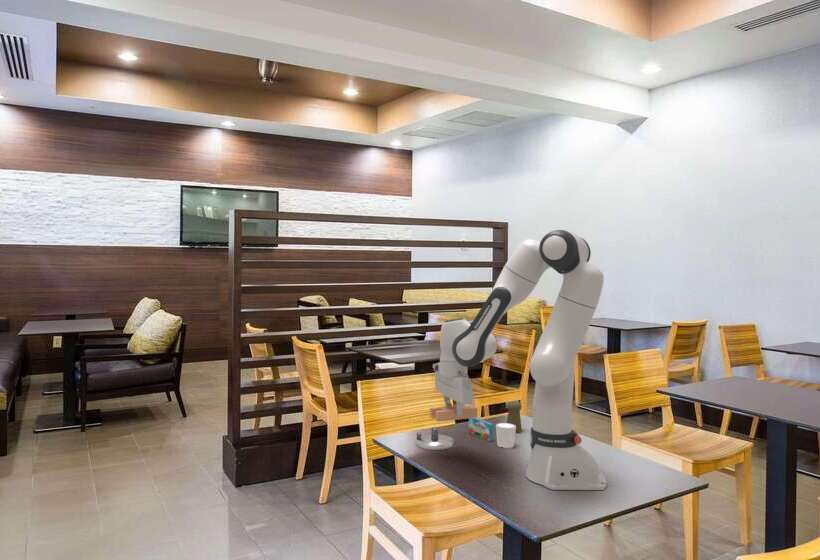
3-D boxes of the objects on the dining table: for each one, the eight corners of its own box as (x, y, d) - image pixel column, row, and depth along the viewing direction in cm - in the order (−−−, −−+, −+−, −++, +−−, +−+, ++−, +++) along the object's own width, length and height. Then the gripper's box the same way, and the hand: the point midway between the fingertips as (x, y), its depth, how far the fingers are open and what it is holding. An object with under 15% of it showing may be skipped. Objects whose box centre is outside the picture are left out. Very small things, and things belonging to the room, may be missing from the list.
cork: (523, 433, 206) (523, 403, 206) (506, 433, 206) (507, 403, 206) (520, 428, 212) (520, 399, 212) (504, 428, 212) (505, 399, 212)
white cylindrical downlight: (511, 450, 187) (511, 429, 187) (492, 446, 191) (492, 426, 191) (518, 444, 193) (519, 424, 193) (500, 441, 197) (500, 421, 197)
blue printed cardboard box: (492, 441, 197) (492, 423, 197) (489, 441, 196) (489, 424, 196) (471, 432, 207) (471, 415, 207) (468, 432, 206) (468, 416, 206)
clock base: (455, 439, 197) (455, 424, 197) (451, 451, 185) (452, 435, 185) (418, 437, 200) (419, 422, 200) (412, 449, 187) (413, 432, 187)
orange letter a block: (468, 412, 185) (468, 403, 185) (477, 417, 180) (477, 408, 179) (429, 417, 180) (429, 407, 180) (437, 421, 174) (437, 412, 174)
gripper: (478, 373, 171) (478, 418, 171) (448, 363, 190) (448, 403, 190) (459, 375, 169) (459, 420, 169) (431, 364, 187) (431, 405, 188)
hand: (453, 411), depth 180 cm, fingers closed on orange letter a block, 6 cm apart
